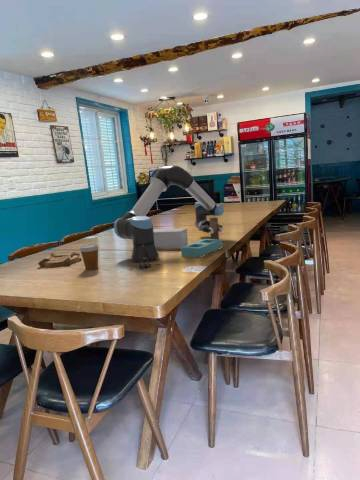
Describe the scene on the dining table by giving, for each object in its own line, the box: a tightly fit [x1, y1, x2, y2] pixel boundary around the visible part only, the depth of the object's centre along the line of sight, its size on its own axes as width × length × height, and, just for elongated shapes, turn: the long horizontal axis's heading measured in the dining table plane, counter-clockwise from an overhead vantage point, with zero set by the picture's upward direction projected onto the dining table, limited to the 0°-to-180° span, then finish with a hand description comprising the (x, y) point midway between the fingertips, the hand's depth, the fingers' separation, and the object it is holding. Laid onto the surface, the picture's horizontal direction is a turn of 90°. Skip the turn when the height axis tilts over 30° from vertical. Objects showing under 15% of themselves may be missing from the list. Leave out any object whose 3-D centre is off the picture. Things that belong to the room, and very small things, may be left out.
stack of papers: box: [153, 227, 189, 249], centre depth 222 cm, size 32×11×11 cm, turn 69°
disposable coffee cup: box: [79, 243, 99, 271], centre depth 180 cm, size 10×10×12 cm
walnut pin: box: [209, 217, 220, 240], centre depth 216 cm, size 5×5×16 cm
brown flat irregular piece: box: [37, 251, 82, 269], centre depth 201 cm, size 24×24×5 cm
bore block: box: [180, 238, 223, 258], centre depth 196 cm, size 24×12×5 cm, turn 143°
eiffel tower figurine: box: [129, 245, 162, 271], centre depth 173 cm, size 15×10×13 cm
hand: (217, 230), depth 210 cm, fingers closed on walnut pin, 5 cm apart
